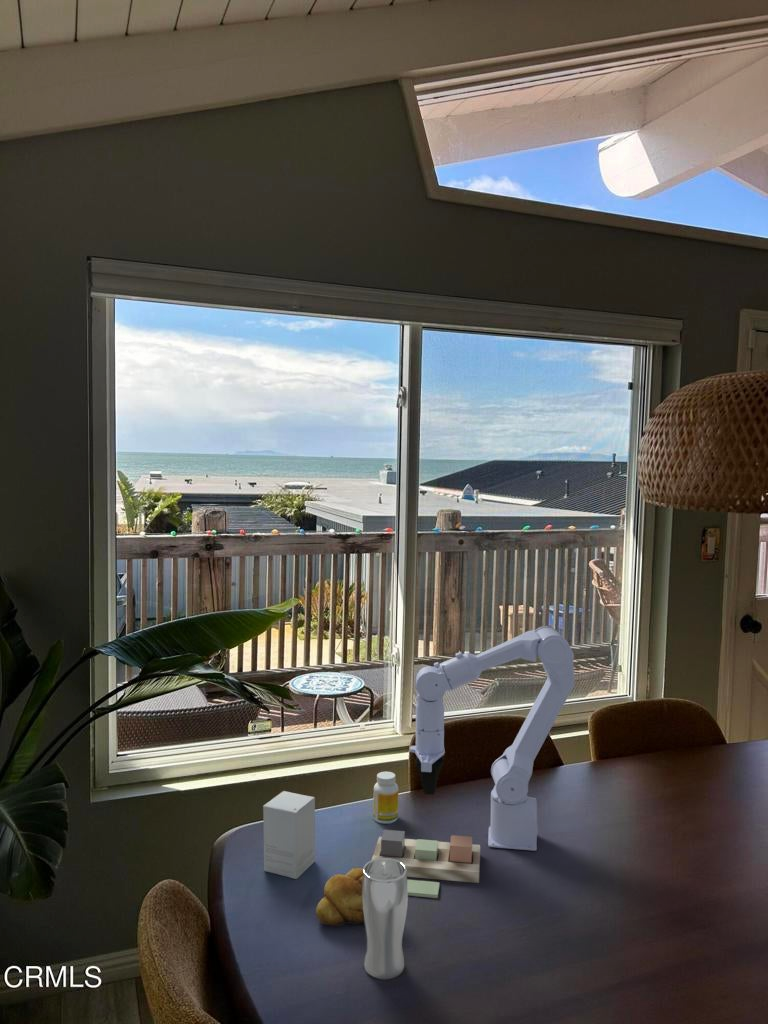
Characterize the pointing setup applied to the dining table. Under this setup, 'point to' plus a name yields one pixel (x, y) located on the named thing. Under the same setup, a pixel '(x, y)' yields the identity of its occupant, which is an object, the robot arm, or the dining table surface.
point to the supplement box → (289, 834)
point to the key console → (436, 863)
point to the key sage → (426, 850)
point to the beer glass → (384, 916)
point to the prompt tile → (423, 888)
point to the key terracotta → (461, 849)
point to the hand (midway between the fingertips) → (429, 793)
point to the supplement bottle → (385, 798)
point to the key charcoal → (393, 843)
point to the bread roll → (342, 899)
